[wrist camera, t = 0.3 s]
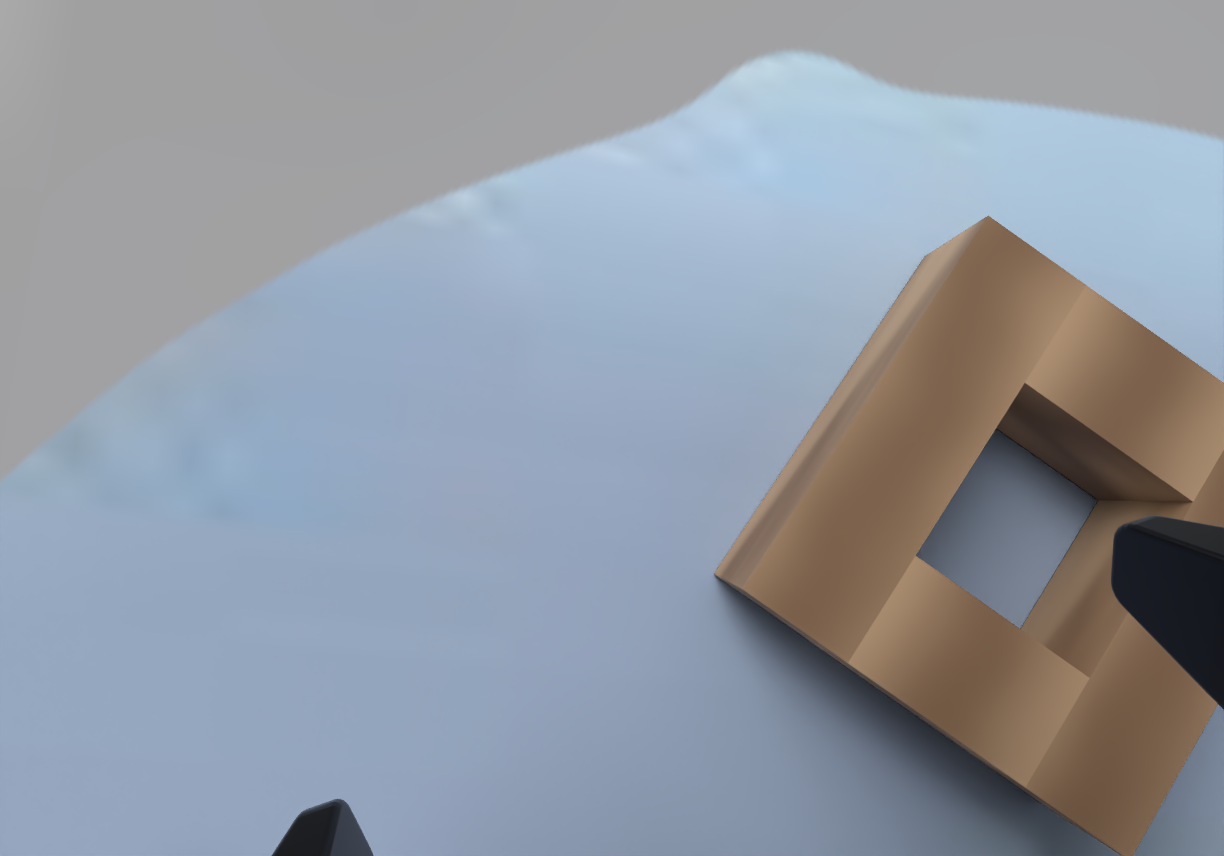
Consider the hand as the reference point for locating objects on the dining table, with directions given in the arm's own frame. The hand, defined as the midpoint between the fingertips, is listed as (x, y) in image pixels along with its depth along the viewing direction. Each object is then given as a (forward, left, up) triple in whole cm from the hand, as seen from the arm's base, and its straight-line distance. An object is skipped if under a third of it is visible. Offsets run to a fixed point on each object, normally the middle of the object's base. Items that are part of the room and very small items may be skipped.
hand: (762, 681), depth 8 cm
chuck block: (-8, -7, -14) cm, 18 cm away
